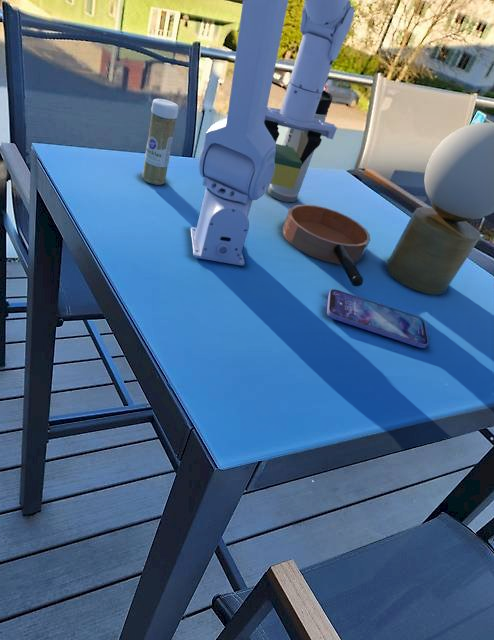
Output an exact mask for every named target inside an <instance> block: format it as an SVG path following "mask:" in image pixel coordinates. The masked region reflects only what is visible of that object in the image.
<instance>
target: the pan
mask: <svg viewBox="0 0 494 640" xmlns="http://www.w3.org/2000/svg"><path fill="white" fill-rule="evenodd" d="M288 209H289V210H288V213H287V215H286V218H285V220H284V224H283V227H282V235H283V237H284V238H285V240H286V241H287V242H288V243H289V244H290V245H291V246H292V247H294V248H295V249H297V250H299V251H300V252H302V253H303V254H304V255H307V256H310V257H312V258H315V259H316V260H317V259H318V260H319V261H323V262H327V263H332V264H336V265H337V264H338V265H341V264H340V262H339V260H338V258H337V256H336V254H335V253H334V248H335V247H336V246H337V245H340V244H341V245H343V246H344V247H345V249H346V251H347V252H348V254H349V256H350V257H351V259H352V261H353V262H354V264H355V263H358V262H359V261H360V260H361V259H362V258H363V256H364V254H365V252H366V250H367V248H368V246H369V245H370V242H371V234H370V233H369V231H368V229H366V228H365V227H364V226H363V225H362V224H360V223H359V222H358V221H357V220H355V219H353V218H351V217H350V216H348V215H346V214H344V213H341V212H339V211H338V210H334V209H331V208H329V207H328V208H327V207H324V206H319V205H315V204H298V205H293V206H292V207H289V208H288Z"/></svg>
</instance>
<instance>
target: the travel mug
mask: <svg viewBox="0 0 494 640" xmlns="http://www.w3.org/2000/svg"><path fill="white" fill-rule="evenodd" d="M332 101H333V95H332V94H331V93H329V92H328V91H326V90H324V89H323V92H322V95H321V98H320V101H319V104H318V107H317V110H316V113H315V116H314V118H315V119H318V120H321V121H324V122H326V118H327V116H328V112H329V109H330V107H331V104H332ZM300 136H301V131H300V130H296V129H292V128H288V127H287V129H286V133H285V135H284V139H283V142H282V145H284V146H288V147H292V148H293V149H294V150H295V152H297V148H298V145H299V141H300ZM314 152H315V150H314V151H313V152H312V153H311V154H310V155H309V157H308V158H307V159H306V160H305V162H304V163H303V165H302V166H301V169H300V171H299V174H298V177H297V180H296V183H295V186H294V188H293V189H292V188H287V187H283V186H278V185H273V184H270V185H269V187H268V189H267V193H268V194H269V196H271V197H272V198H274V199H276V200H278V201H281V202H285V203H294V202H296V201H297V199H298V197H299V193H300V191H301V189H302V186H303V183H304V180H305V178H306V175H307V172H308V170H309V167H310V163H311V161H312V158H313V155H314Z"/></svg>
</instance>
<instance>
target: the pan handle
mask: <svg viewBox="0 0 494 640" xmlns="http://www.w3.org/2000/svg"><path fill="white" fill-rule="evenodd" d="M334 253H335V254H336V256H337V258H338V260H339V262H340V264H339V265H341V267H342V270H343V271H344V273H345V275H346V276H347V278H348V280H349V282H350V283H351V286H352V287H355V288H358V287H360V286H362V285H363V283H364V278H363V276H362V275H361V273H360V271H359V270H358V269H359V268H358V267H357V266H356V264H355V263H354V262H353V261H352V259H351V257H350V256H349V254H348V252H347V251H346V249H345V247H344V246H343V245H341V244H340V245H337V246H336V247H335V248H334Z"/></svg>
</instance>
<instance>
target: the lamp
mask: <svg viewBox="0 0 494 640" xmlns="http://www.w3.org/2000/svg"><path fill="white" fill-rule="evenodd" d="M424 171H425V172H424V178H423V179H424V183H423V184H424V189H425V194H426V196H427V197H428V199H429V202H430V204H431V207H427V206H426V207H425V206H422V207H417V208H416V209H415V210H414V211H413V213H412V215H411V217H410V219H409V221H408V223H407V224H406V226H405V228H404V230H403V232H402V234H401V236H400V237H399V239H398V241H397V243H396V245H395V246H394V249H393V250H392V252H391V254H390V256H389V257H388V260H387V262H386V264H385V268H386V271H387V272H388V274H389V275H390V276H391V277H392V278H393V279H394V280H395V281H397V282H399V283H400V284H401V285H403V286H405V287H407V288H409V289H411V290H414V291H416V292H419V293H422V294H427V295H433V296H435V295H442V294H443V293H446V291H447V289H448V288H449V286H450V285H451V283H452V282H453V280H454V279H455V277H456V275H458V272H459V271H460V269H461V268H462V267H463V264H464V263H465V262H466V260H467V258H469V256H470V254H471V253H472V251H473V249H474V248H475V246H476V245H477V243H478V241H479V240H480V239H481V233H480V231H478V229H477V228H476V227H474V226H473V225H472V224H470V223H469V222H470V221H474V220H476V219H480V218H484V217H487V216H489V215H491V214H493V213H494V122H476V123H471V124H467V125H464V126H462V127H460V128H458V129H456V130H455V131H453V132H451V133H450V134H448V135H447V136H446V137H444V139H443V140H442V141H440V143H439V144H438V145H437V146H436V148H434V149H433V152H432V153H431V155H430V157H429V159H428V160H427V163H426V167H425V170H424Z"/></svg>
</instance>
